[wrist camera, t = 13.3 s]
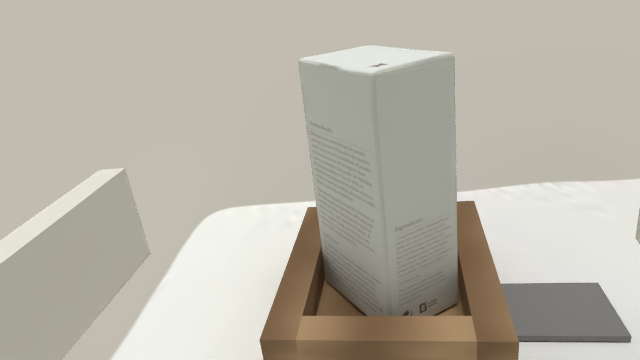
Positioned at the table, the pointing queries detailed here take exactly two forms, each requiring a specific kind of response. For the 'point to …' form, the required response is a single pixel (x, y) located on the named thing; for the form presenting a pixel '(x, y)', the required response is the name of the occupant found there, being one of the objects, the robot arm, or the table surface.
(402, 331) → the socket block
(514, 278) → the table surface
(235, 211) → the table surface
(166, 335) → the table surface
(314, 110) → the skincare box
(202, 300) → the table surface
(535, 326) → the flat gray slab
